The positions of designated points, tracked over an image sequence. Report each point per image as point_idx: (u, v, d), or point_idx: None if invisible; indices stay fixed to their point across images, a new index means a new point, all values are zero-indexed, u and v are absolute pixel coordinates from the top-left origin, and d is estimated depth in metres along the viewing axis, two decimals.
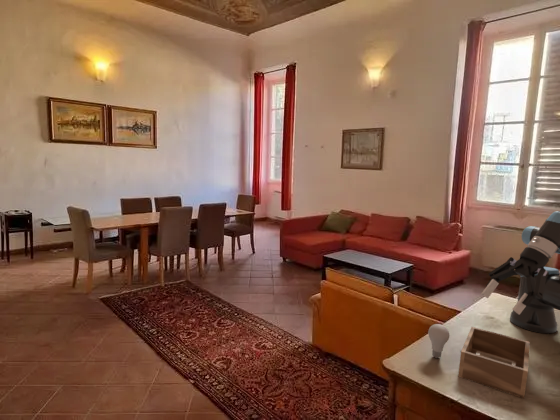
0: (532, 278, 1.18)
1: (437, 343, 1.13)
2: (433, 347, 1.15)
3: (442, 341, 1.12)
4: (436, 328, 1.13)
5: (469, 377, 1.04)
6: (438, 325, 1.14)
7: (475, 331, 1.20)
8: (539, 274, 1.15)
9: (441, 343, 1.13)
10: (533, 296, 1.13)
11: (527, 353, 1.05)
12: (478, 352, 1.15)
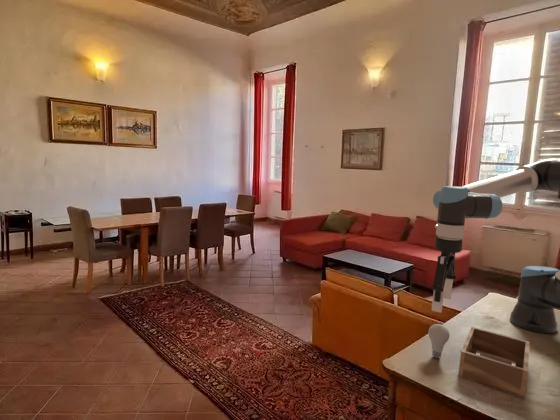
0: None
1: (437, 343, 1.13)
2: (433, 347, 1.15)
3: (442, 341, 1.12)
4: (436, 328, 1.13)
5: (469, 377, 1.04)
6: (438, 325, 1.14)
7: (475, 331, 1.20)
8: None
9: (441, 343, 1.13)
10: (436, 290, 1.06)
11: (527, 353, 1.05)
12: (478, 352, 1.15)
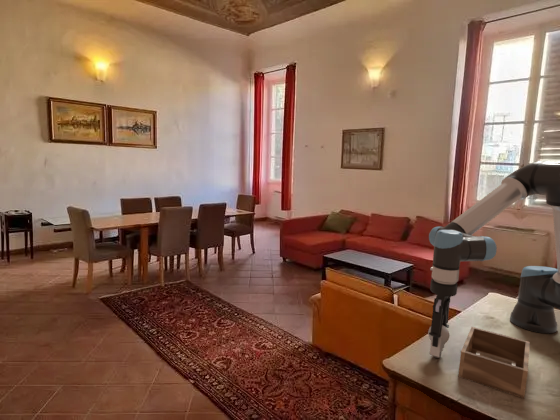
0: None
1: None
2: None
3: (442, 341, 1.12)
4: None
5: (469, 377, 1.04)
6: None
7: (475, 331, 1.20)
8: None
9: (441, 343, 1.13)
10: (434, 336, 1.11)
11: (527, 353, 1.05)
12: (478, 352, 1.15)
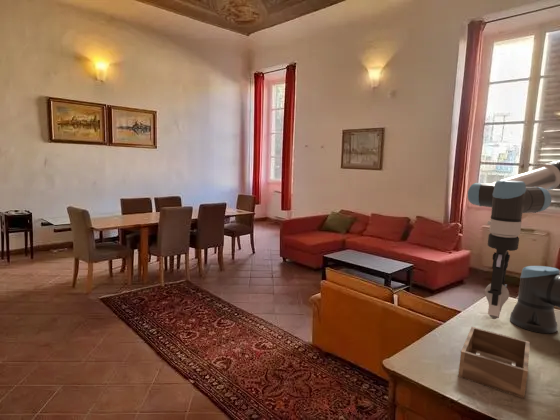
0: None
1: None
2: None
3: (502, 299, 1.04)
4: None
5: (469, 377, 1.04)
6: None
7: (475, 331, 1.20)
8: (493, 267, 1.02)
9: (501, 302, 1.05)
10: (494, 294, 1.03)
11: (527, 353, 1.05)
12: (478, 352, 1.15)
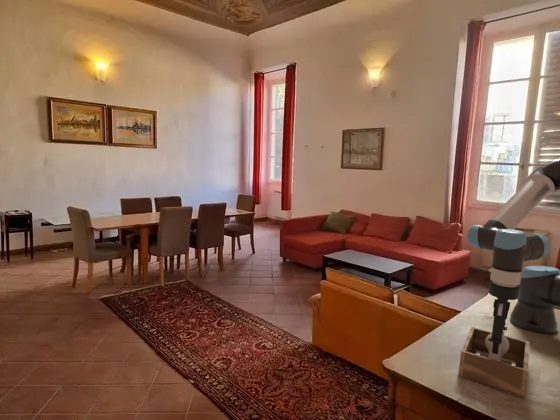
0: None
1: None
2: None
3: (502, 351, 1.05)
4: None
5: (469, 377, 1.04)
6: None
7: (475, 331, 1.20)
8: (494, 315, 1.03)
9: (501, 354, 1.06)
10: (494, 342, 1.03)
11: (527, 353, 1.05)
12: (478, 352, 1.15)
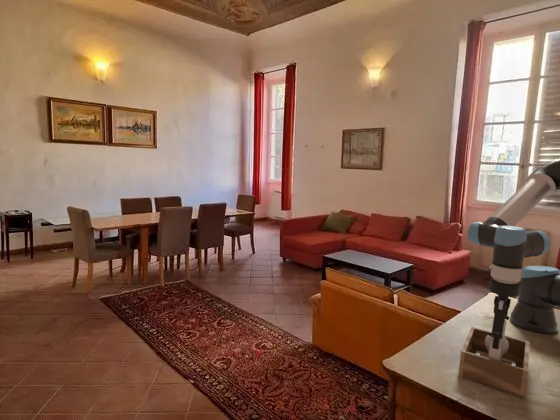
0: None
1: None
2: None
3: (502, 351, 1.06)
4: None
5: (469, 377, 1.04)
6: None
7: (475, 331, 1.20)
8: (495, 309, 1.02)
9: (500, 354, 1.06)
10: (495, 337, 1.01)
11: (527, 353, 1.05)
12: (478, 352, 1.15)
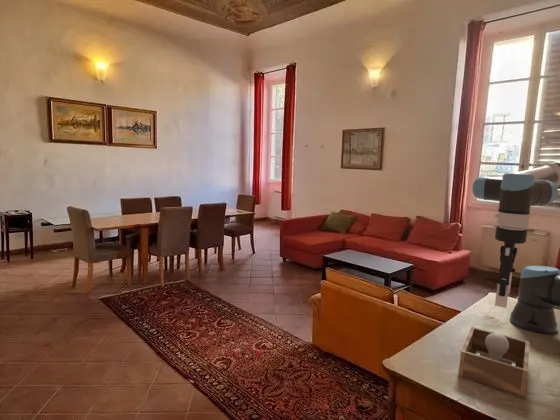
0: None
1: (496, 353, 1.07)
2: (491, 357, 1.08)
3: (502, 351, 1.06)
4: (495, 337, 1.07)
5: (469, 377, 1.04)
6: (497, 334, 1.08)
7: (475, 331, 1.20)
8: (501, 256, 1.00)
9: (501, 354, 1.06)
10: (501, 284, 0.99)
11: (527, 353, 1.05)
12: (478, 352, 1.15)
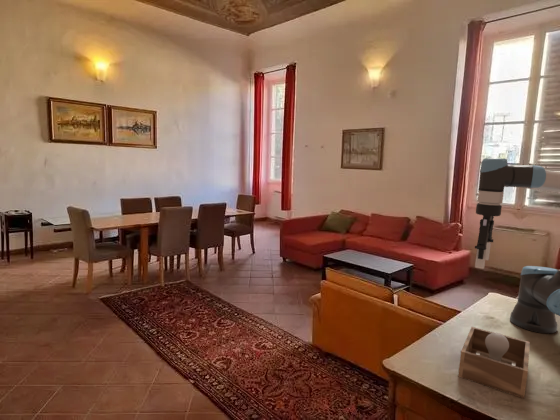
0: None
1: (496, 353, 1.07)
2: (491, 357, 1.08)
3: (502, 351, 1.06)
4: (495, 337, 1.07)
5: (469, 377, 1.04)
6: (497, 334, 1.08)
7: (475, 331, 1.20)
8: (480, 226, 1.21)
9: (501, 354, 1.06)
10: (480, 248, 1.20)
11: (527, 353, 1.05)
12: (478, 352, 1.15)
